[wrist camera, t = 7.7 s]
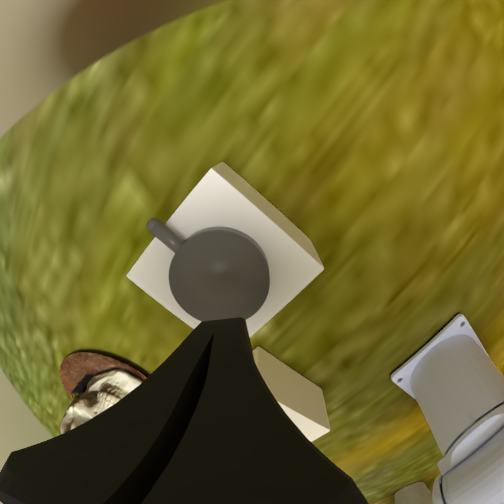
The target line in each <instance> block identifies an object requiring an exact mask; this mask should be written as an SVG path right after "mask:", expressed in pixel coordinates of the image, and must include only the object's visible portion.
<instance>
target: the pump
mask: <svg viewBox="0 0 504 504" xmlns="http://www.w3.org/2000/svg"><path fill="white" fill-rule="evenodd" d="M147 229H148V231H149V232H150V233H152V234H153V235H154V236H155V237H156V238H157V239H159V240H160V241H161V242H162V243H163V244H165V245H166V246H167V247H168V248H169V249H171V250H172V251H173V252H174V253H175V255H174V257H173V259H172V261H171V264H170V267H169V285H170V289H171V292H172V294H173V296H174V298H175V300H176V302H177V303H178V304H179V306H180V307H181V308H182V309H183V310H184V311H185V312H186V313H188V314H189V315H190V316H192V317H193V318H195V319H197V320H199V321H211V320H220V319H228V318H237V317H242V318H244V319H245V320H246V319H248V318H250V317H251V316H253V315H254V314H255V313H256V312H257V311H258V310H259V309H260V308H261V307H262V305H263V304H264V302H265V300H266V298H267V295H268V293H269V287H270V275H269V265H268V261H267V258H266V256H265V254H264V252H263V250H262V248H261V247H260V246H259V245H258V243H257V242H256V241H255V240H254V239H252V238H251V237H250V236H248V235H247V234H245V233H243V232H241V231H239V230H236V229H233V228H229V227H209V228H205V229H202V230H200V231H197V232H196V233H194V234H192V235H191V236H190V237H188V238H187V239H186V240H185V241H184V240H183V239H182V238H181V237H179V236H178V235H177V234H176V233H175V232H173V231H172V230H171V229H170V228H169V227H168V226H166V225H165V224H164V223H163V222H162V221H160V220H159V219H157V218H152V219H150V220H149V221H148V223H147Z"/></svg>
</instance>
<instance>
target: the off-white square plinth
mask: <svg viewBox="0 0 504 504" xmlns="http://www.w3.org/2000/svg"><path fill="white" fill-rule="evenodd" d="M252 352H253V357H254V361H255V363H256V366H257V368H258V370H259V372H260V374H261V376H262V377H263V379H264V381H265V383H266V385H267V386H268V388H269V390H270V391H271V393H272V394H273V396H274V397H275V399H276V400H277V402H278V403H279V404H280V406H281V407H282V409H283V410H284V411H285V413H286V414H287V415H288V417H289V418H290V419H291V420H292V421H293V422H294V424H295V425H296V426H297V427H298V428H299V429H300V431H301V432H302V433H303V434H304V435H305V436H306V437H307V439H308V440H309V441H310V442H312V441H314V440H315V439H317V438H319V437H320V436H322V435H324V434H325V433H327V432H329V431H330V425H329V420H328V416H327V411H326V406H325V401H324V396H323V392H322V389H321V388H320V387H318V386H317V385H315V384H314V383H312V382H311V381H309V380H308V379H306V378H305V377H303V376H302V375H300V374H299V373H297V372H296V371H294V370H293V369H291V368H290V367H288V366H287V365H285V364H284V363H282V362H281V361H279V360H278V359H277V358H275V357H274V356H272V355H271V354H269V353H268V352H267V351H265V350H264V349H262V348H261V347H260V346H258V347H256V348H255V349H254V350H253V351H252Z"/></svg>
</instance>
